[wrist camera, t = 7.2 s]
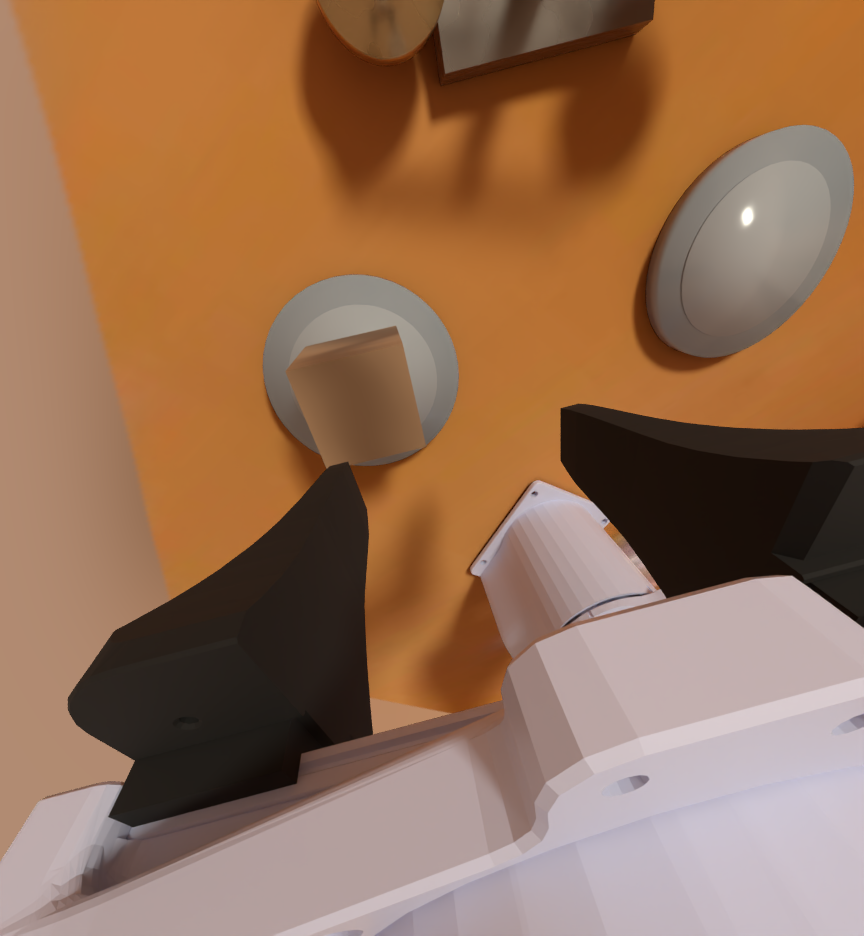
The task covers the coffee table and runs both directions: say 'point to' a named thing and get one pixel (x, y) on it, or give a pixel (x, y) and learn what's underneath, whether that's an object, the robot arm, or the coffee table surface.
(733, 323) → the right dish
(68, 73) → the coffee table surface
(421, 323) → the left dish
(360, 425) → the walnut block
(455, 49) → the bronze balance
